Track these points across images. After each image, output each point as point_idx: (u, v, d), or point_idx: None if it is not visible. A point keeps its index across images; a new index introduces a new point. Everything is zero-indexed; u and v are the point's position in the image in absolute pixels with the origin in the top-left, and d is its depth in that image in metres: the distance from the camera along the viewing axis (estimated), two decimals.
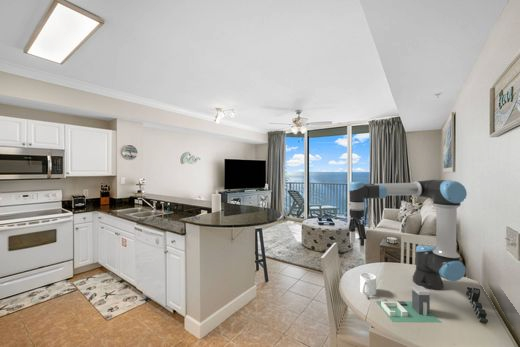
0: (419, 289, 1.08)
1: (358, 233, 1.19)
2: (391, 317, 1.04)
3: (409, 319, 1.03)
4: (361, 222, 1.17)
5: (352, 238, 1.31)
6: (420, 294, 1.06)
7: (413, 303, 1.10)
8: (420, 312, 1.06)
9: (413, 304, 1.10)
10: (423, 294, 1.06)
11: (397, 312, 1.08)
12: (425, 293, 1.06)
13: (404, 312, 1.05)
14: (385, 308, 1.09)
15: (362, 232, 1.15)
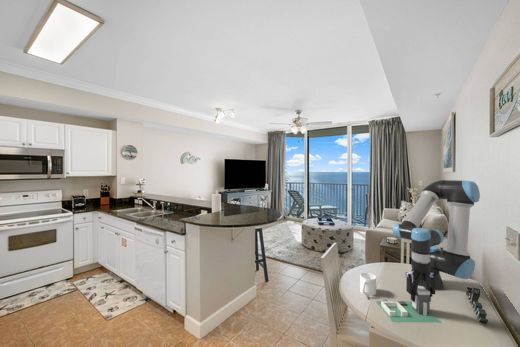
0: (419, 289, 1.08)
1: None
2: (391, 317, 1.04)
3: (409, 319, 1.03)
4: (407, 275, 1.09)
5: None
6: (420, 294, 1.06)
7: None
8: (420, 312, 1.06)
9: None
10: (423, 294, 1.06)
11: (397, 312, 1.08)
12: (425, 293, 1.06)
13: (404, 312, 1.05)
14: (385, 308, 1.09)
15: (407, 285, 1.09)
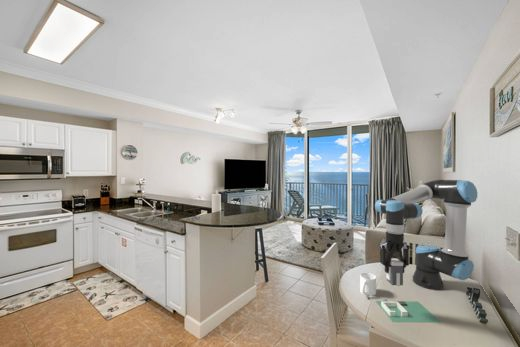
0: (393, 260, 1.08)
1: None
2: (391, 317, 1.04)
3: (409, 319, 1.03)
4: (381, 247, 1.09)
5: None
6: (393, 265, 1.06)
7: None
8: (393, 283, 1.06)
9: None
10: (396, 265, 1.06)
11: (397, 312, 1.08)
12: (398, 264, 1.06)
13: (404, 312, 1.05)
14: (385, 308, 1.09)
15: (381, 257, 1.09)
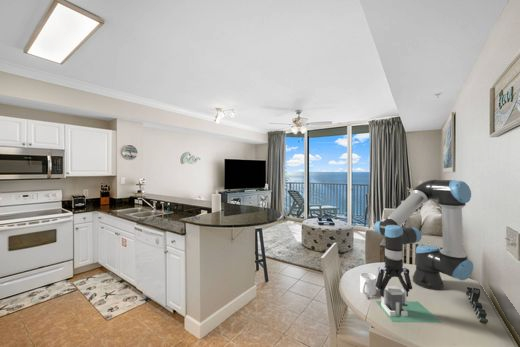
0: (392, 289, 1.08)
1: None
2: (391, 317, 1.04)
3: (409, 319, 1.03)
4: (379, 270, 1.09)
5: (402, 296, 1.09)
6: (393, 294, 1.06)
7: (387, 303, 1.10)
8: None
9: (387, 304, 1.10)
10: (396, 294, 1.06)
11: None
12: (398, 293, 1.06)
13: (404, 312, 1.05)
14: (385, 308, 1.09)
15: (377, 280, 1.09)
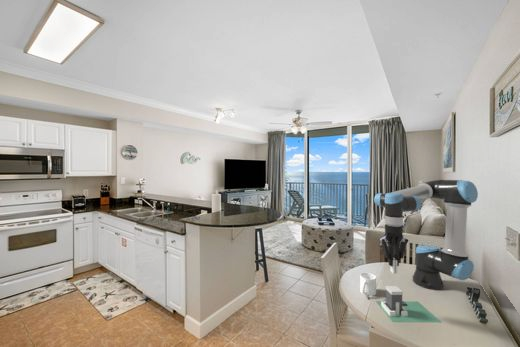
0: (392, 289, 1.08)
1: None
2: (391, 317, 1.04)
3: (409, 319, 1.03)
4: (381, 241, 1.09)
5: None
6: (393, 294, 1.06)
7: (387, 303, 1.10)
8: None
9: (387, 304, 1.10)
10: (396, 294, 1.06)
11: None
12: (398, 293, 1.06)
13: (404, 312, 1.05)
14: (385, 308, 1.09)
15: (384, 251, 1.09)
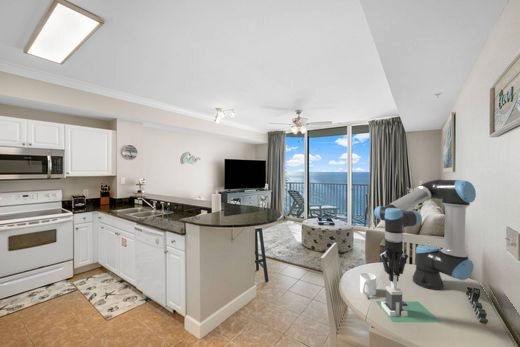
0: (392, 289, 1.08)
1: None
2: (391, 317, 1.04)
3: (409, 319, 1.03)
4: (381, 256, 1.09)
5: None
6: (393, 294, 1.06)
7: (387, 303, 1.10)
8: None
9: (387, 304, 1.10)
10: (396, 294, 1.06)
11: None
12: (398, 293, 1.06)
13: (404, 312, 1.05)
14: (385, 308, 1.09)
15: (384, 266, 1.09)
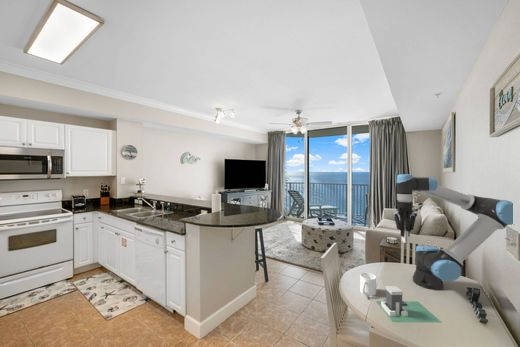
0: (392, 289, 1.08)
1: None
2: (391, 317, 1.04)
3: (409, 319, 1.03)
4: (394, 215, 1.27)
5: None
6: (393, 294, 1.06)
7: (387, 303, 1.10)
8: None
9: (387, 304, 1.10)
10: (396, 294, 1.06)
11: None
12: (398, 293, 1.06)
13: (404, 312, 1.05)
14: (385, 308, 1.09)
15: (396, 224, 1.27)
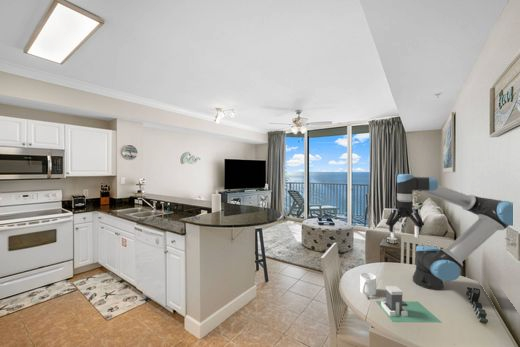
0: (392, 289, 1.08)
1: None
2: (391, 317, 1.04)
3: (409, 319, 1.03)
4: (392, 211, 1.27)
5: (415, 232, 1.27)
6: (393, 294, 1.06)
7: (387, 303, 1.10)
8: None
9: (387, 304, 1.10)
10: (396, 294, 1.06)
11: None
12: (398, 293, 1.06)
13: (404, 312, 1.05)
14: (385, 308, 1.09)
15: (388, 219, 1.27)
